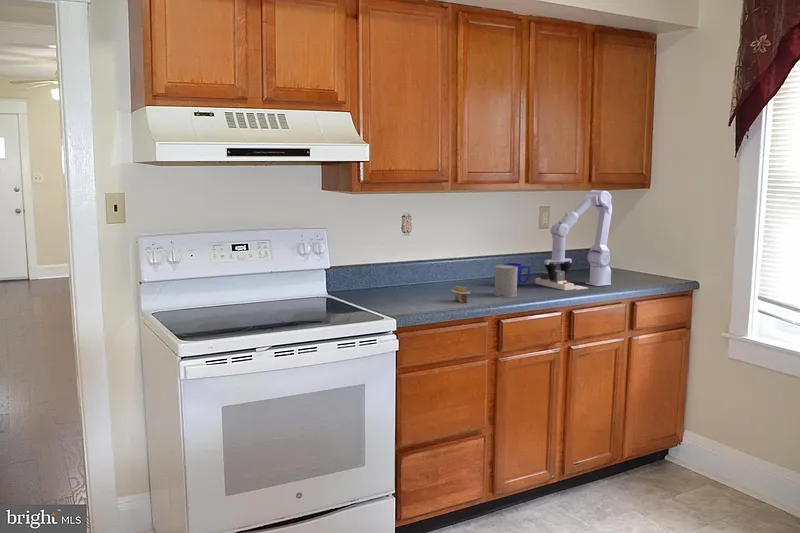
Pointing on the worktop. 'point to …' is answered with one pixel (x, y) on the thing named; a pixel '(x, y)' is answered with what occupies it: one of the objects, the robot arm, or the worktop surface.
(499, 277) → the gray concrete cylinder
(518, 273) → the mug
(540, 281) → the power strip
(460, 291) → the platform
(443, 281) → the worktop surface
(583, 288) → the mat
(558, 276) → the block
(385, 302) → the worktop surface
